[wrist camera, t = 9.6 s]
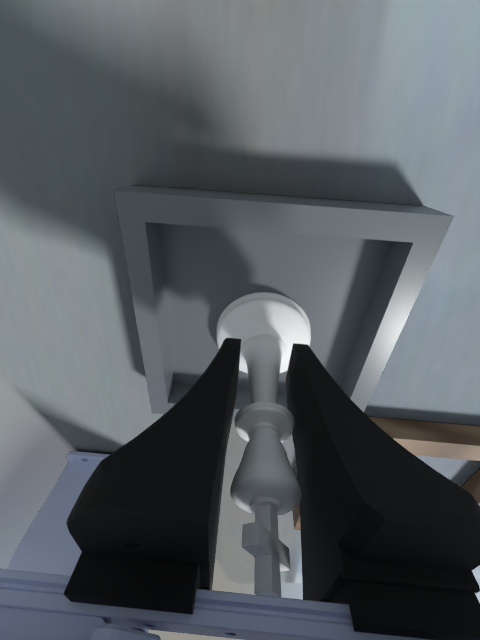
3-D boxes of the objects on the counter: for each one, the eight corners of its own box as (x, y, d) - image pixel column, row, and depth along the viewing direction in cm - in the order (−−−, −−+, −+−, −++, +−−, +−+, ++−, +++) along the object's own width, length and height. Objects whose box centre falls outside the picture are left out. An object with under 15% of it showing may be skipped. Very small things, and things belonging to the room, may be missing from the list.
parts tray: (162, 387, 18) (152, 413, 16) (135, 184, 11) (113, 190, 10) (345, 404, 18) (355, 431, 16) (424, 206, 11) (454, 216, 9)
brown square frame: (292, 510, 26) (294, 529, 24) (326, 412, 18) (332, 432, 17) (442, 525, 25) (452, 544, 24) (540, 431, 18) (561, 453, 17)
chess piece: (245, 379, 16) (230, 628, 8) (198, 317, 14) (107, 568, 6) (324, 349, 15) (413, 620, 6) (285, 274, 13) (338, 533, 4)
